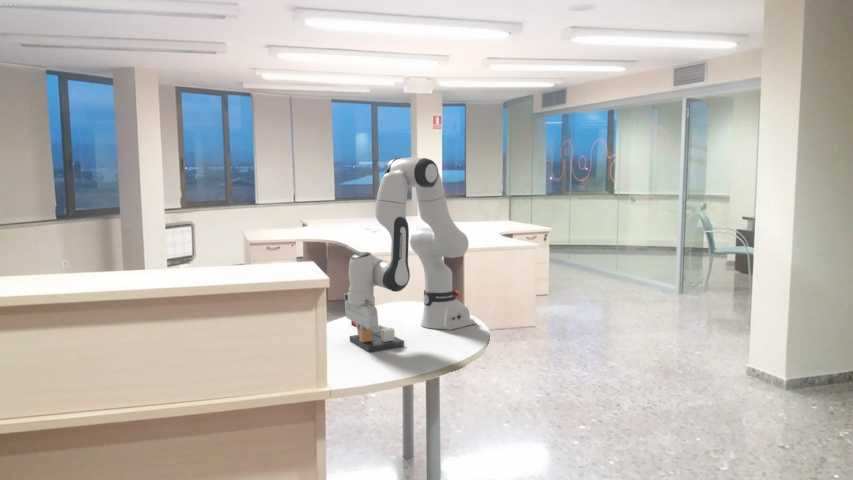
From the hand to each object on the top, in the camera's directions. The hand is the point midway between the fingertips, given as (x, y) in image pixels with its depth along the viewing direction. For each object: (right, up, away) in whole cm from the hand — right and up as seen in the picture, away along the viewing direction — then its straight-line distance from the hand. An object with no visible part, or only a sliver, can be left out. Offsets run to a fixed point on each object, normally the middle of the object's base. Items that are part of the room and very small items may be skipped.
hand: (361, 335), depth 233 cm
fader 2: (+10, -1, -2) cm, 10 cm away
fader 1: (+2, -1, -3) cm, 4 cm away
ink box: (-2, 0, +29) cm, 30 cm away
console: (+5, -3, +1) cm, 6 cm away
